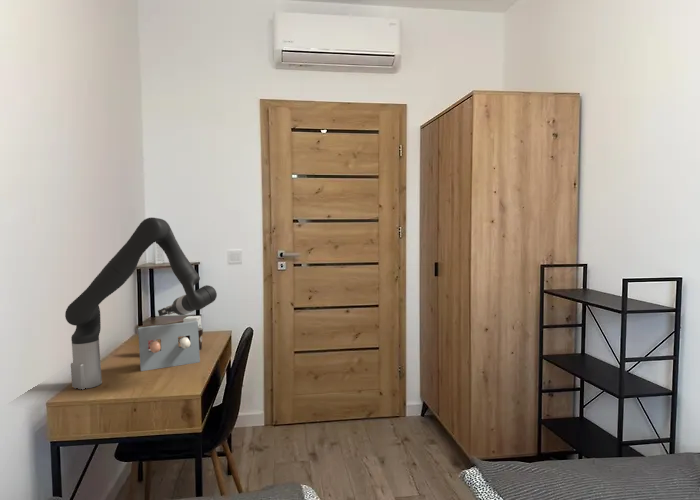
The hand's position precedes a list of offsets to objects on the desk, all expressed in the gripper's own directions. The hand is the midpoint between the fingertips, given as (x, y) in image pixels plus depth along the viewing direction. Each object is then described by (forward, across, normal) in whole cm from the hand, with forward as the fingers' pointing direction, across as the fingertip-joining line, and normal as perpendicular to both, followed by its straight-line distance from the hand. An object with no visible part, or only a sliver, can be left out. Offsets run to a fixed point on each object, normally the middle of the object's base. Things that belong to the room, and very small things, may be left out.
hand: (170, 310), depth 204 cm
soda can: (+33, +2, +16) cm, 37 cm away
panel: (+11, +2, +22) cm, 25 cm away
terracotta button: (+5, +9, +14) cm, 18 cm away
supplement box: (+46, -26, +16) cm, 55 cm away
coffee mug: (+27, -18, +20) cm, 38 cm away
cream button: (+2, -2, +17) cm, 17 cm away
